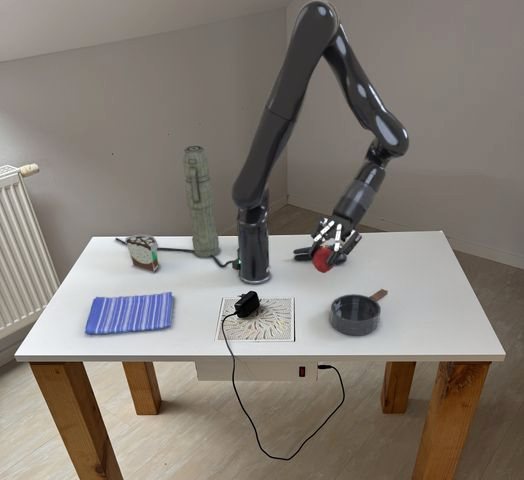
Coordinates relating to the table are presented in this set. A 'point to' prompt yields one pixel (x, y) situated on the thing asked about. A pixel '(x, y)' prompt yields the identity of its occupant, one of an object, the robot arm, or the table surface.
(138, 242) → the cake slice
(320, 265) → the onion
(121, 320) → the dish towel
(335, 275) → the table surface
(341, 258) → the can opener
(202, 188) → the thermos
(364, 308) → the pan
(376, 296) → the pan handle
